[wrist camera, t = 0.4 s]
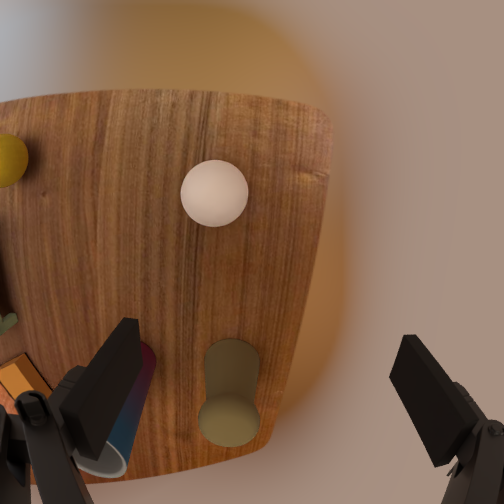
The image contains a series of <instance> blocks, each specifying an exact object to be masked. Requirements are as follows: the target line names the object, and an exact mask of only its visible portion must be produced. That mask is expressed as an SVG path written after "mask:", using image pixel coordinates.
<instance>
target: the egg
mask: <svg viewBox="0 0 504 504" xmlns="http://www.w3.org/2000/svg"><path fill="white" fill-rule="evenodd" d="M247 199H248V186H247V182H246V180H245V178H244V175H243V174H242V173H241V172H240V171H239V169H238V168H236V167H235V166H234V165H232V164H230V163H228V162H225V161H221V160H209V161H205V162H202V163H200V164H198V165H196V166H195V167H193V168H192V169H191V170H190V171H189V172H188V174H187V175H186V177H185V178H184V181H183V184H182V187H181V201H182V204H183V207H184V209H185V211H186V212H187V214H188V215H189V216H190V217H191V218H192V219H193V220H194V221H196V222H197V223H199V224H201V225H205V226H209V227H218V226H224V225H227V224H229V223H230V222H232V221H234V220H235V219H236V218H237V217H238V216H239V215H240V214H241V213H242V212H243V210H244V208H245V206H246V203H247Z"/></svg>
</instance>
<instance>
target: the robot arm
mask: <svg viewBox="0 0 504 504" xmlns="http://www.w3.org/2000/svg"><path fill="white" fill-rule="evenodd" d="M142 367H143V358H142V350H141V342H140V333H139V323H138V319H132V318H125V317H124V318H123V319H122V320H121V322H120V323H119V324H118V326H117V327H116V328H115V330H114V331H113V332H112V333H111V335H110V336H109V337H108V339H107V340H106V341H105V343H104V344H103V346H102V347H101V348H100V350H99V351H98V352H97V354H96V355H95V356H94V358H93V359H92V360H91V362H90V363H89V365H88V366H87V367H83V366H79V365H77V366H76V367H74V368H73V369H71V370H69V371H68V372H67V374H66V375H65V376H64V378H63V380H61V382H60V383H59V384H58V386H57V387H56V388H55V390H54V391H53V392H52V394H51V395H50V396H49V398H48V399H46V397H45V395H44V394H43V393H41V392H40V391H36V390H28V391H25V392H22V393H21V394H20V395H18V396H17V398H16V399H15V401H14V407H15V409H16V411H17V413H18V415H16V414H8V413H7V412H6V410H5V408H4V406H3V405H1V404H0V504H31V490H30V464H31V465H32V469H33V473H34V477H35V480H36V483H37V487H38V490H39V493H40V496H41V499H42V502H43V504H94V502H93V501H92V498H91V496H90V494H89V492H88V490H87V488H86V485H85V483H84V481H83V479H82V476H81V474H80V472H79V469H78V467H77V464H76V462H75V459H74V457H73V455H72V454H73V452H74V450H75V448H76V449H77V451H78V453H79V455H80V456H82V457H85V458H88V459H91V460H94V461H98V459H99V457H100V455H101V452H102V450H103V448H104V446H105V444H106V441H107V439H108V437H109V435H110V433H111V431H112V428H113V426H114V424H115V422H116V420H117V418H118V416H119V414H120V412H121V409H122V407H123V405H124V403H125V401H126V399H127V397H128V395H129V393H130V391H131V389H132V387H133V385H134V383H135V381H136V379H137V377H138V375H139V373H140V371H141V369H142ZM389 378H390V380H391V382H392V384H393V386H394V387H395V389H396V391H397V393H398V395H399V397H400V399H401V401H402V403H403V404H404V406H405V408H406V410H407V412H408V414H409V416H410V418H411V420H412V422H413V424H414V426H415V428H416V430H417V432H418V434H419V436H420V438H421V440H422V442H423V444H424V446H425V448H426V450H427V452H428V454H429V456H430V458H431V461H432V463H433V465H434V467H439V466H443V465H446V464H449V463H450V461H451V460H452V459H453V457H454V456H455V455H456V456H457V458H458V461H457V462H456V464H455V465H454V466H453V468H452V469H451V470H450V471H449V473H448V474H447V476H449V475H450V474H451V473H452V475H451V478H450V481H449V484H448V487H447V490H446V492H445V495H444V497H443V500H442V503H441V504H504V425H503V424H502V423H501V422H499V421H497V420H488V419H487V418H486V416H485V415H484V413H483V412H482V411H481V409H480V408H479V407H478V405H477V404H476V402H475V401H474V400H473V398H472V397H471V396H469V393H468V392H467V391H466V389H465V388H464V387H463V386H462V385H460V384H459V383H457V382H452V380H451V379H450V378H449V376H448V375H447V374H446V373H445V371H444V370H443V368H442V367H441V366H440V364H439V363H438V362H437V361H436V359H435V358H434V357H433V355H432V354H431V353H430V352H429V350H428V349H427V348H426V347H425V345H424V344H423V343H422V342H421V340H420V339H419V338H418V337H417V336H416V335H404V336H403V338H402V342H401V345H400V348H399V351H398V354H397V357H396V359H395V362H394V365H393V368H392V370H391V373H390V376H389Z"/></svg>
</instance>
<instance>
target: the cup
mask: <svg viewBox="0 0 504 504" xmlns="http://www.w3.org/2000/svg"><path fill="white" fill-rule="evenodd" d="M140 342H141V341H140ZM141 350H142V358H143V367H142V369H141V371H140V373H139V375H138V377H137V379H136V381H135V383H134V385H133V387H132V389H131V391H130V393H129V395H128V397H127V399H126V401H125V403H124V405H123V407H122V409H121V412H120V414H119V416H118V418H117V420H116V422H115V424H114V426H113V428H112V431H111V433H110V435H109V437H108V439H107V441H106V444H105V446H104V448H103V450H102V452H101V455H100V457H99V459H98V461H94V460H91V459H88V458H85V457H82V456H80V455H79V453H78V451H77V449H76V448H75V450H74V452H73V454H72V455H73V457H74V459H75V462H76V464H77V467H78V468H80V469H81V470H83V471H85V472H88V473H90V474H93V475H96V476H100V477H105V478H116V477H120V476H122V475H123V474H124V473H125V472H126V469H127V465H128V462H129V458H130V454H131V450H132V446H133V442H134V439H135V435H136V431H137V428H138V424H139V420H140V417H141V413H142V410H143V406H144V403H145V400H146V396H147V393H148V389H149V386H150V383H151V379H152V376H153V373H154V370H155V366H156V358H155V355H154V353H153V351H152V350H151V349H150V348H149V347H148V346H147V345H146V344H144V343H143V342H141Z"/></svg>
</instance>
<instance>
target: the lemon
mask: <svg viewBox="0 0 504 504" xmlns="http://www.w3.org/2000/svg"><path fill="white" fill-rule="evenodd" d="M27 165H28V151H27V148H26V146H25V144H24V142H23V141H22V140H21V139H20V138H18V137H16V136H14V135H11V134H0V188H4V187H7V186H10V185H12V184H14V183H15V182H17V181H18V180H19V179H20V178H21V177H22V175H23V174H24V172H25V170H26V168H27Z"/></svg>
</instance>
